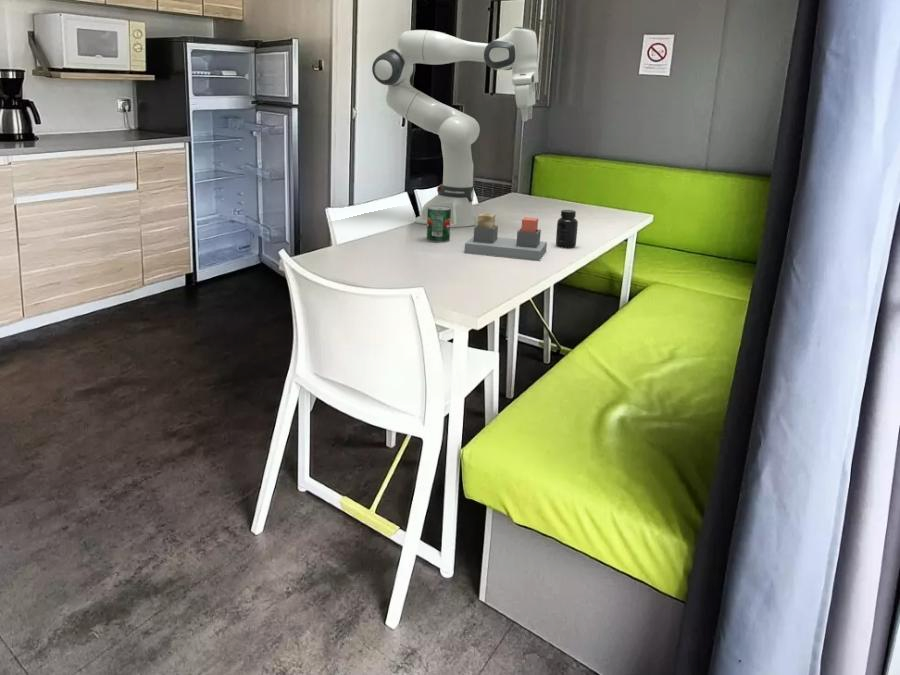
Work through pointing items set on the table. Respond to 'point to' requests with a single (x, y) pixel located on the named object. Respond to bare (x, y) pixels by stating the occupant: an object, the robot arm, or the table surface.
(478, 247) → the button panel
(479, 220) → the tan button
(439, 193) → the robot arm
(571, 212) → the supplement bottle
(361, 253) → the table surface
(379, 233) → the table surface
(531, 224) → the red button
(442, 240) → the canned tomato
